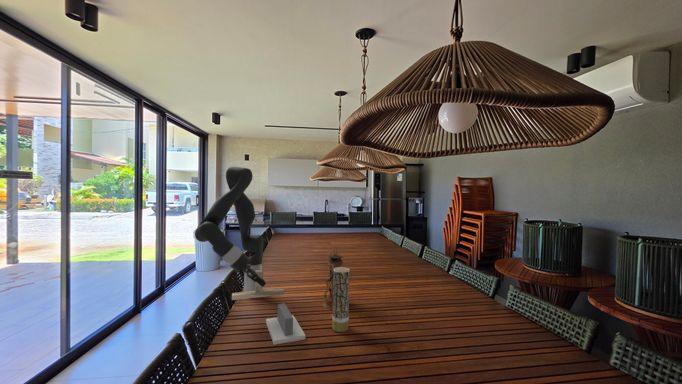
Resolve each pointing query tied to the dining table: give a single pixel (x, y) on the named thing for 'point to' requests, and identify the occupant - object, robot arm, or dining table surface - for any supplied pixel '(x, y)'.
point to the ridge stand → (284, 327)
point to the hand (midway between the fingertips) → (263, 283)
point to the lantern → (333, 263)
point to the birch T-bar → (257, 291)
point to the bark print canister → (340, 299)
